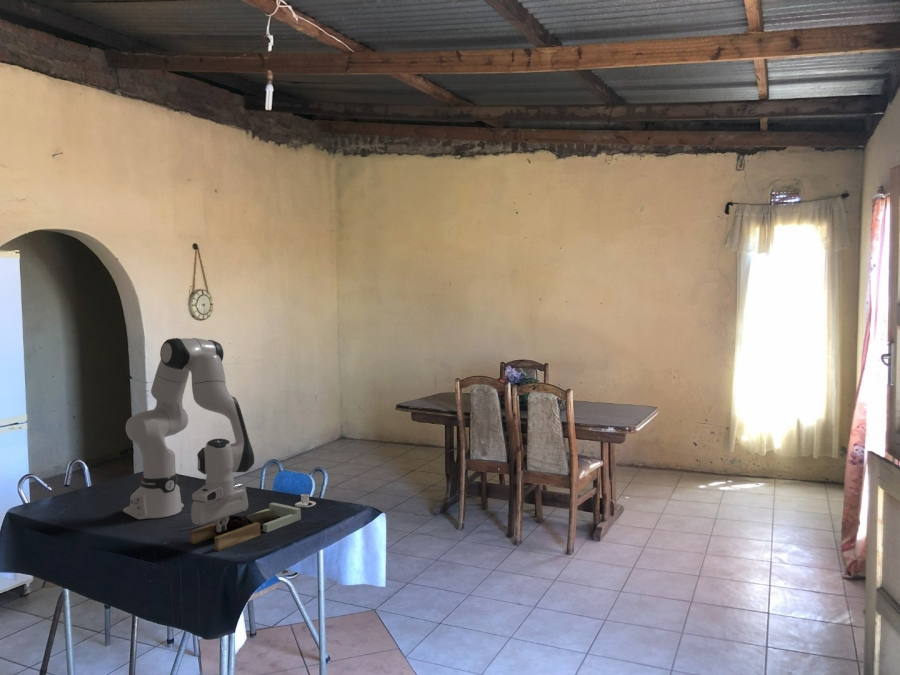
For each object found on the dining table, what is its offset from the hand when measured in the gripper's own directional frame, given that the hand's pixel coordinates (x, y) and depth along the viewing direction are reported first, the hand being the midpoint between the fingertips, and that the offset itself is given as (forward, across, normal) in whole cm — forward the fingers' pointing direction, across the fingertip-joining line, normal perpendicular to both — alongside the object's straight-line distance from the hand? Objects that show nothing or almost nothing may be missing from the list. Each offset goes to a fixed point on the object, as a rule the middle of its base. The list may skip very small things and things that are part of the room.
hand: (221, 531), depth 227 cm
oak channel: (+3, -2, 0) cm, 4 cm away
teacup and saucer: (+4, -41, -7) cm, 42 cm away
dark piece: (+3, -10, 0) cm, 11 cm away
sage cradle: (+3, -20, -1) cm, 21 cm away
